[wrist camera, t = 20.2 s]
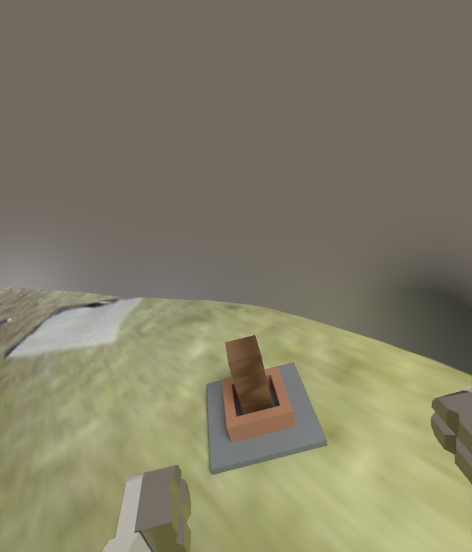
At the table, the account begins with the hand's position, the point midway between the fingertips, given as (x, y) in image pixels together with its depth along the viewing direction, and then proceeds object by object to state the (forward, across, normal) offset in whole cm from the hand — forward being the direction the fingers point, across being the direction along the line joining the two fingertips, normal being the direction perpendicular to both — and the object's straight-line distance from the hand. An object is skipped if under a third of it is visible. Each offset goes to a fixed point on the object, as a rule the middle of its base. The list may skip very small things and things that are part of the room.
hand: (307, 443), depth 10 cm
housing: (+30, +2, +32) cm, 44 cm away
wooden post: (+30, +2, +31) cm, 43 cm away
